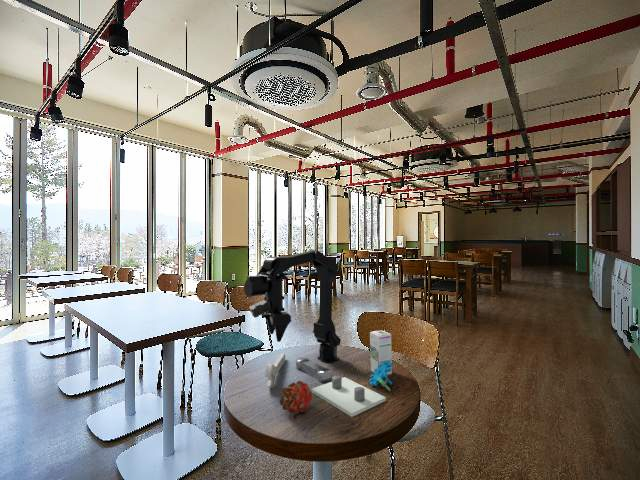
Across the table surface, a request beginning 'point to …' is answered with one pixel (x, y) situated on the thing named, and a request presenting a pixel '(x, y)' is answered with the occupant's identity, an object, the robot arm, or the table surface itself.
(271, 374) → the wrench
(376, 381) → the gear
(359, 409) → the peg board
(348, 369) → the table surface
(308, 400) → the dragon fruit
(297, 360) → the ball-ended metal rod
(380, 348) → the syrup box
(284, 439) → the table surface
